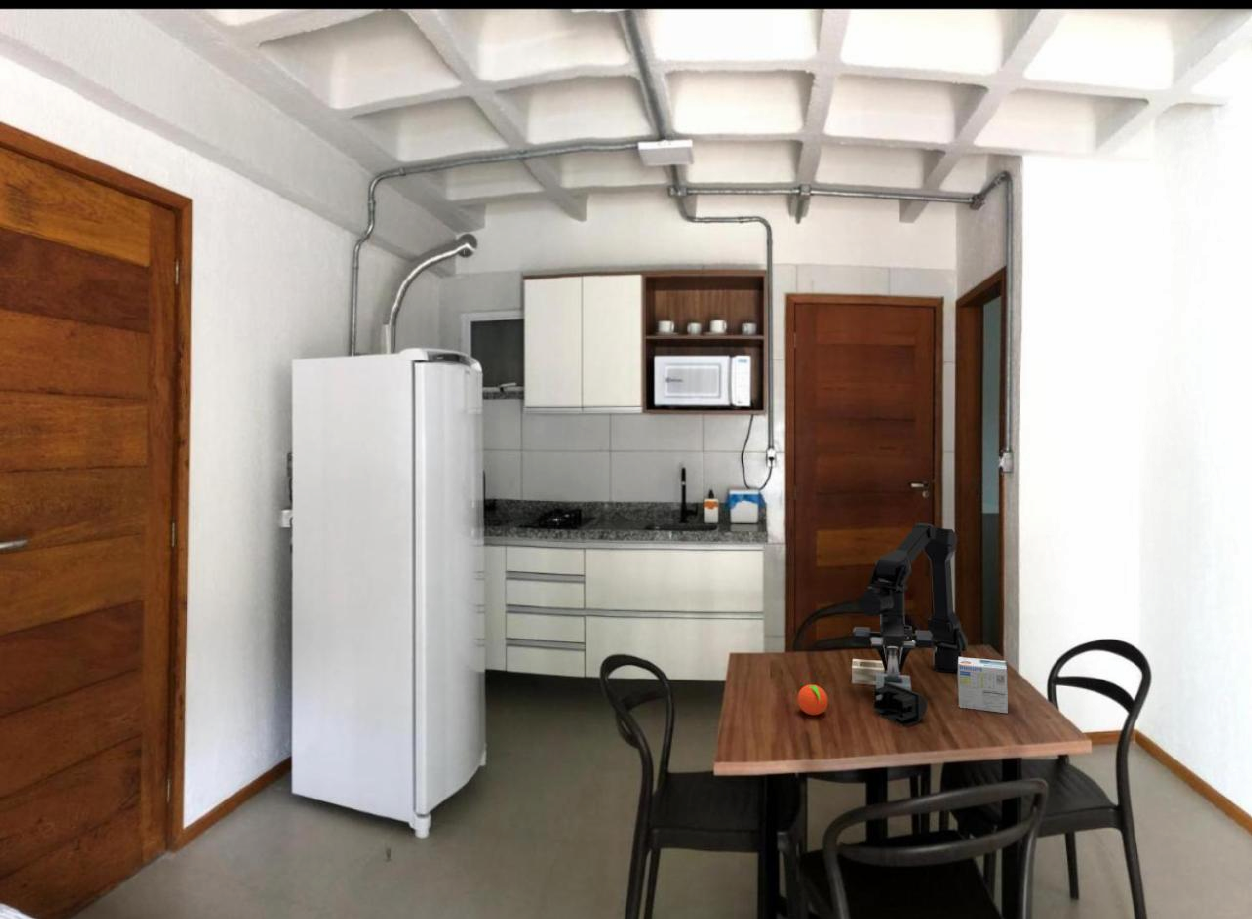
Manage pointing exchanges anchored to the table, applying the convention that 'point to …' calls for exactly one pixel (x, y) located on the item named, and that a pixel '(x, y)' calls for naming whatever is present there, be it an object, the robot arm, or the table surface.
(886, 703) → the end cap
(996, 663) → the light bulb box
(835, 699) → the table surface
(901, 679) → the slate block
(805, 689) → the clementine
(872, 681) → the birch block
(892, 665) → the cylinder
